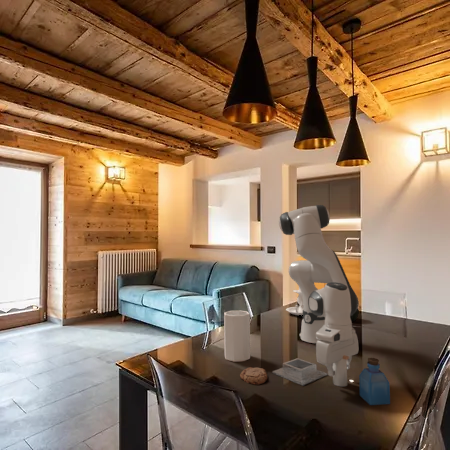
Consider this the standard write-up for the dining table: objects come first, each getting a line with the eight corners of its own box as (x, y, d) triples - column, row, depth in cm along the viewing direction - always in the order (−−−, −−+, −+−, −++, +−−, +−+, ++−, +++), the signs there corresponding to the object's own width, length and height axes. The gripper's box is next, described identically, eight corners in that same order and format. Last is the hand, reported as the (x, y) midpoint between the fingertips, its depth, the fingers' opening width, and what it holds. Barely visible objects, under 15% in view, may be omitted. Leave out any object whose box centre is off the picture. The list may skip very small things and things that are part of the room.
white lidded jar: (335, 378, 115) (334, 350, 116) (352, 384, 110) (351, 355, 111) (327, 382, 113) (327, 353, 113) (344, 388, 108) (344, 358, 108)
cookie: (249, 387, 110) (249, 378, 110) (235, 375, 120) (235, 367, 120) (274, 382, 114) (274, 373, 114) (259, 371, 124) (259, 363, 124)
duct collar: (296, 364, 130) (296, 354, 130) (327, 374, 119) (327, 364, 119) (272, 373, 121) (272, 363, 121) (303, 385, 110) (302, 374, 110)
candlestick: (280, 317, 210) (279, 273, 211) (290, 310, 232) (289, 270, 233) (312, 320, 200) (311, 274, 202) (320, 312, 223) (319, 271, 224)
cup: (232, 364, 130) (231, 316, 131) (219, 355, 140) (219, 311, 141) (255, 359, 136) (255, 313, 137) (241, 351, 145) (241, 309, 146)
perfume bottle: (359, 395, 103) (358, 356, 104) (378, 394, 103) (377, 355, 104) (370, 405, 97) (368, 363, 97) (390, 404, 97) (388, 362, 98)
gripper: (346, 324, 121) (347, 362, 121) (312, 334, 109) (313, 376, 108) (362, 327, 116) (363, 367, 116) (329, 338, 104) (330, 383, 103)
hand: (339, 372), depth 112 cm, fingers open, 8 cm apart
